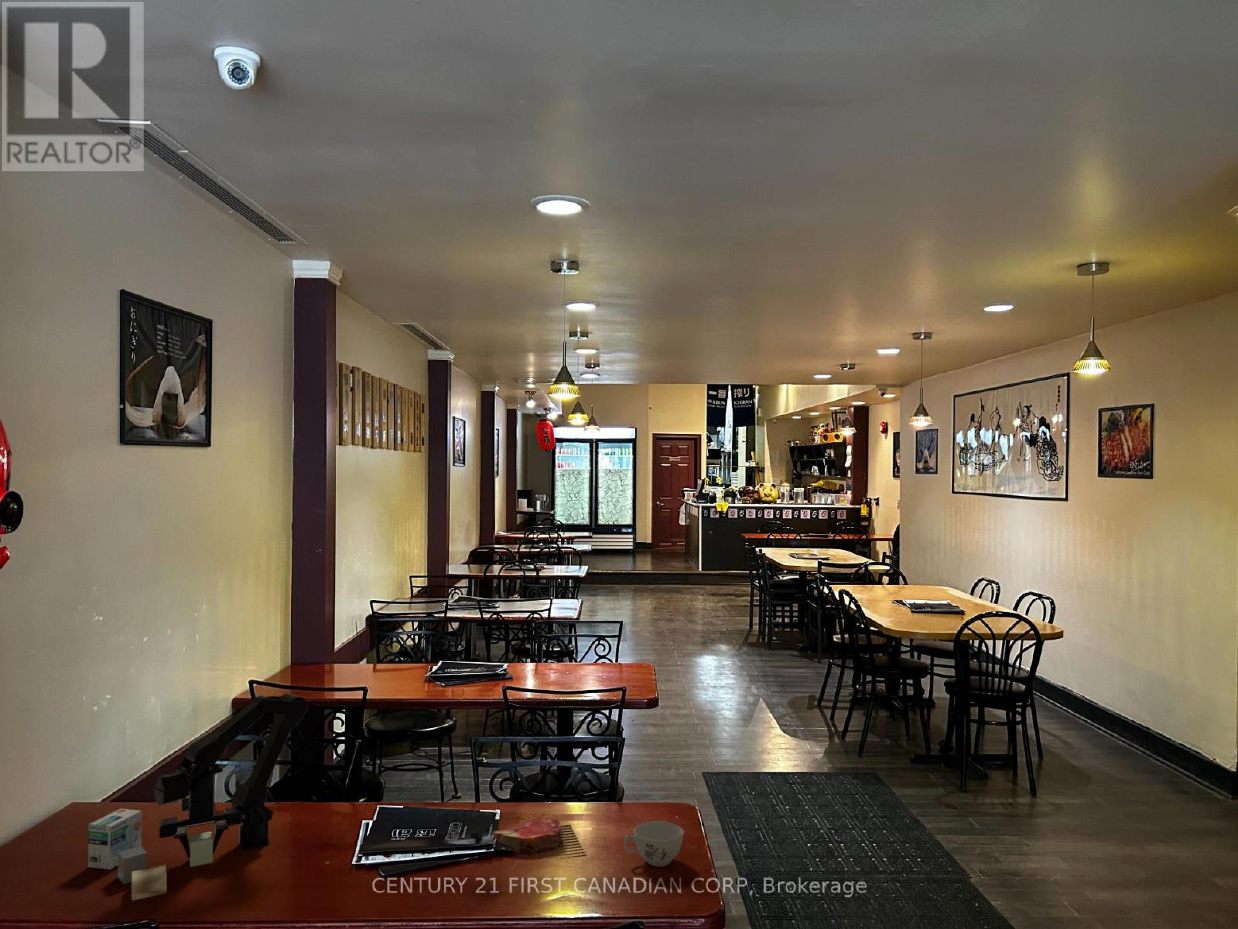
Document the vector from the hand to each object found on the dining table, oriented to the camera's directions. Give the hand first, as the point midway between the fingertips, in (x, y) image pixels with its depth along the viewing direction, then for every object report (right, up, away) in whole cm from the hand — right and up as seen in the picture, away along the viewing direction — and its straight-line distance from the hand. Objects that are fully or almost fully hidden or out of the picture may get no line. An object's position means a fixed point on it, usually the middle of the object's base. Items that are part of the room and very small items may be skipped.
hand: (201, 855), depth 214 cm
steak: (+82, -2, +9) cm, 83 cm away
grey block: (-12, -1, -9) cm, 15 cm away
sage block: (0, -1, 0) cm, 1 cm away
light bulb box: (-22, -2, +1) cm, 22 cm away
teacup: (+114, -2, -1) cm, 114 cm away
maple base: (-5, -1, -15) cm, 16 cm away
